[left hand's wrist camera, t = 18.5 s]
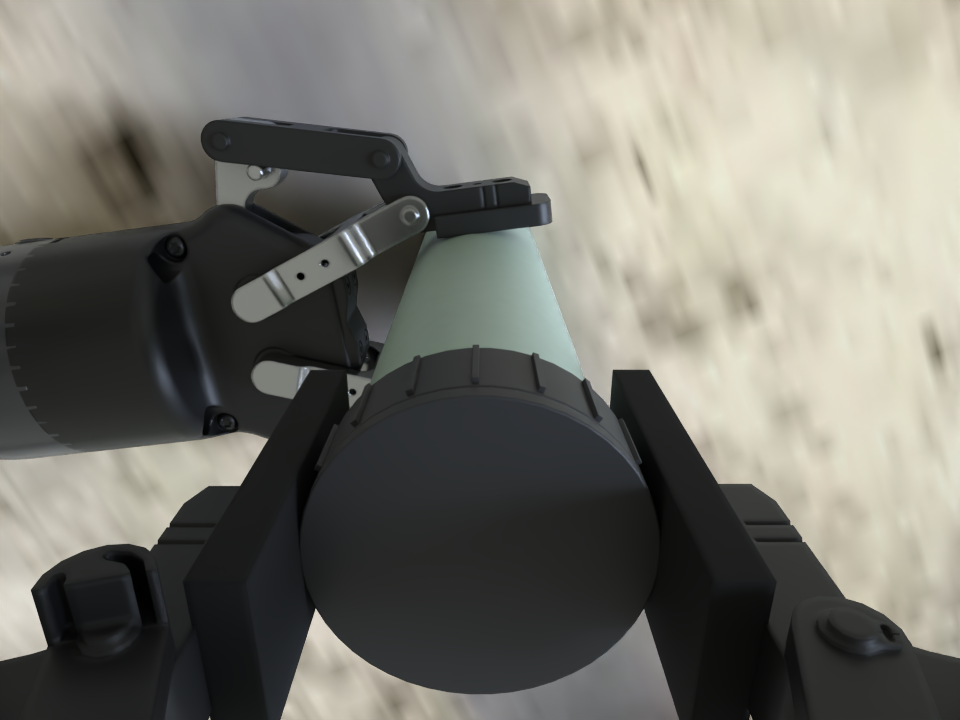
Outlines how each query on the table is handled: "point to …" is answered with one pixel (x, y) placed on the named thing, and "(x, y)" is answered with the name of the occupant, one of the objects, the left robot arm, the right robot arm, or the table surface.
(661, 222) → the table surface
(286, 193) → the table surface
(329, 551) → the lid
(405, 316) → the mint green bottle
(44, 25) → the table surface
